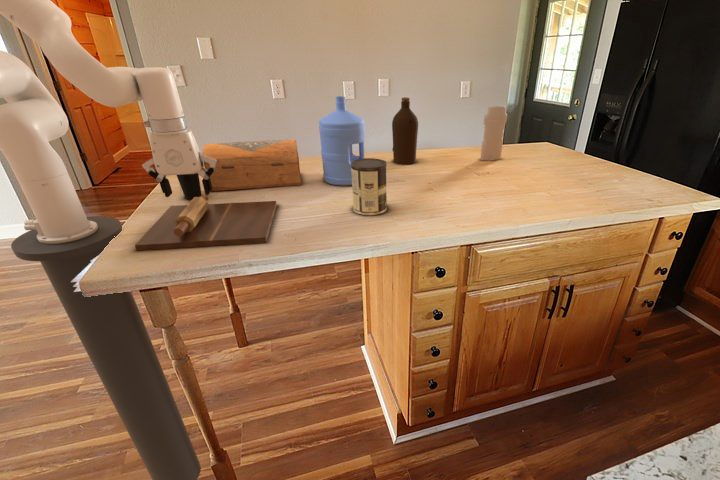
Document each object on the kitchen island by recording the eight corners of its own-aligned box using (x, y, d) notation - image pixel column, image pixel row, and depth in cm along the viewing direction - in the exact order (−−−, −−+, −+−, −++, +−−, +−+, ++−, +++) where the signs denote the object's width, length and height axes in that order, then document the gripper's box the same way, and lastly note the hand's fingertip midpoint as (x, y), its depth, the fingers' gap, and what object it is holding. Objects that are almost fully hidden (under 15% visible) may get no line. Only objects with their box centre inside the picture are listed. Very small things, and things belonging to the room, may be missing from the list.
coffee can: (377, 200, 125) (376, 156, 118) (392, 211, 117) (393, 164, 110) (347, 206, 120) (344, 160, 113) (361, 218, 112) (359, 169, 105)
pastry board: (136, 250, 94) (134, 245, 93) (172, 210, 116) (170, 205, 115) (266, 242, 98) (265, 237, 97) (276, 205, 120) (276, 200, 120)
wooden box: (299, 172, 151) (295, 135, 144) (302, 185, 137) (297, 145, 130) (216, 177, 144) (207, 138, 137) (209, 192, 130) (199, 149, 123)
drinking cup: (211, 195, 127) (196, 131, 117) (192, 203, 121) (174, 136, 111) (195, 191, 130) (178, 129, 120) (175, 199, 124) (156, 133, 114)
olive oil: (421, 160, 167) (424, 97, 155) (408, 166, 159) (409, 100, 147) (401, 157, 172) (402, 95, 160) (387, 162, 165) (386, 98, 152)
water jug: (320, 186, 136) (312, 99, 122) (326, 173, 150) (320, 94, 136) (365, 186, 137) (362, 100, 123) (367, 173, 150) (365, 94, 136)
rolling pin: (171, 241, 95) (165, 224, 93) (198, 205, 115) (194, 191, 113) (190, 240, 96) (185, 223, 93) (214, 204, 116) (210, 190, 114)
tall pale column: (481, 161, 168) (487, 106, 157) (477, 158, 171) (483, 104, 160) (503, 159, 170) (511, 105, 159) (499, 157, 174) (506, 104, 163)
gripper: (122, 130, 89) (147, 201, 97) (203, 127, 91) (220, 197, 100) (136, 124, 95) (158, 191, 104) (211, 121, 98) (226, 187, 106)
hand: (189, 194), depth 102 cm, fingers open, 9 cm apart
